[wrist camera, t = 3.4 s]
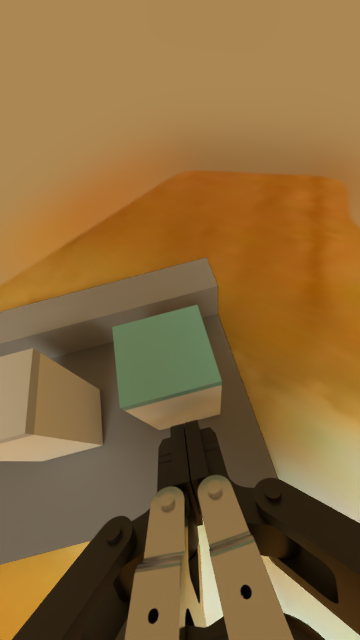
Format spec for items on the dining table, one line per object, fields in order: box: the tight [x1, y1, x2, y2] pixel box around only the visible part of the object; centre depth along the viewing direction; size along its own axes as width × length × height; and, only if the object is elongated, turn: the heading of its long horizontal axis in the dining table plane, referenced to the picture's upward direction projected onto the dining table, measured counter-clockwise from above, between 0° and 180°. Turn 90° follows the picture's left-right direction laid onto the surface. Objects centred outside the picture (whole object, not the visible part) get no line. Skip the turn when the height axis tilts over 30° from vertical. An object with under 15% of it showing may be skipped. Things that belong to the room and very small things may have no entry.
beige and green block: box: [112, 305, 222, 430], centre depth 15 cm, size 4×4×8 cm
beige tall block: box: [0, 348, 103, 461], centre depth 15 cm, size 4×4×8 cm
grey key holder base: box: [0, 257, 278, 565], centre depth 18 cm, size 26×16×5 cm, turn 103°
